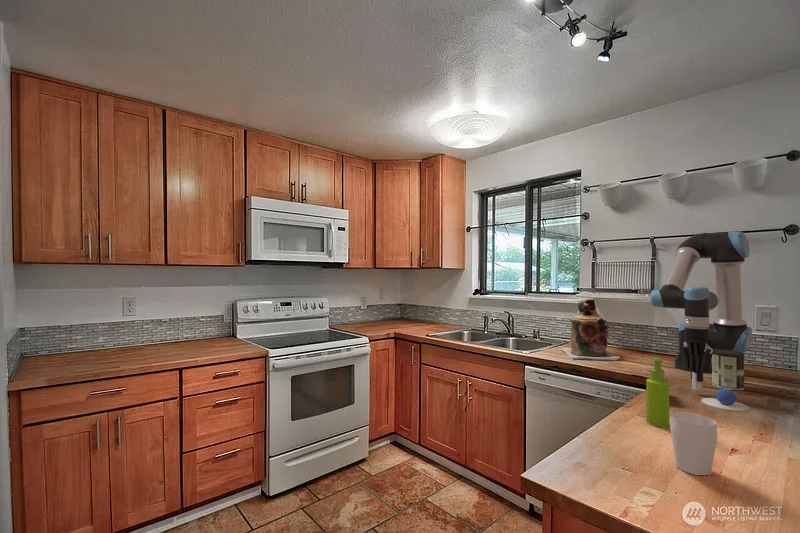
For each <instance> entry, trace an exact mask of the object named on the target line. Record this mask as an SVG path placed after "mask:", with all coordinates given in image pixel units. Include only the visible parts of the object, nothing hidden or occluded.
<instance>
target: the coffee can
mask: <svg viewBox="0 0 800 533" xmlns="http://www.w3.org/2000/svg"><path fill="white" fill-rule="evenodd" d="M711 361H712V372H711V374H712V376H711V378H712V379H711V380H712V381H711V384H712V386H713V387H716V388H719V389H729V390H731V391H744V390H745V352H744V353H742V352H737V351H730V350H716V349H715V352H714V353H713V355H712V359H711Z"/></svg>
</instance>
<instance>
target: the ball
mask: <svg viewBox="0 0 800 533" xmlns="http://www.w3.org/2000/svg"><path fill="white" fill-rule="evenodd" d="M715 393H716V394H715V398H717V400H718V401H719V402H720V403H722V404H724V405H732V404H734V403H735V402H737V396H736V394H735V392H734V391H733V390H729V389H723V388H719V389H717V391H716V392H715Z"/></svg>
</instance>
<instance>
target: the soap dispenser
mask: <svg viewBox="0 0 800 533" xmlns="http://www.w3.org/2000/svg"><path fill="white" fill-rule="evenodd" d="M650 359H651V360H653V361H654V362H653V365H654V366H653V367H652V368H651V369H650V378H647V379H646V380H645V381H646V383H645V384H646V396H645V397H646V398H645V399H646V403H645V404H646V408H645V410H646V423H647V424H648V423H649V424H648V425H650V424H651V425H650V426H652V425H654V426H653V427H656V426H658V427H657V428H662V427H666V428H670V382H669V381H668V382H667V381H665V380H664V377H665V369H663V368H662V363H663V359H662V358H660V357H656V356H655V357H653V356H651V357H650Z"/></svg>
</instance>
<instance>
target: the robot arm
mask: <svg viewBox="0 0 800 533" xmlns="http://www.w3.org/2000/svg"><path fill="white" fill-rule="evenodd" d="M750 253H751V252H750V245H749V240H748V238H747V236H746V233H744V232H742V231H732V230H730V231H719V232H700V233H696V234H695V235H692V236H690V237H688V238H687V239H685V240H684V241H683V242H681V244H679V246H678V247H677V248H676V250H675V252H674V257H675V258H674V260H673V262H672V265H671V266H670V269H669V271H668V273H667V275H666V277H665V279H664V282H663V284H662V286H661V288H660V289H659V288H658V289H653V290H652V291H651V293H650V297H649V298H650V302H651V305H652V306H653V307H656V308H664V309H683V310H684V320H683V321H680V322H679V323H678V352H677V355H676V357H675V359H674V367H675V369H679V370H683V371H687V372H690V380H691V389H692V390H693V391H702V390H703V387H702V386H703V385H702V384H703V382H704V374H706V373H712V355H713V353H714V352H715V350H730V351H737V352H742V353H744V354H745V353H746V352H748V350H749V348H750V345H751V343H752V342H751V341H752V337H753V328H752V327H750V326H748V324H747V321H746V320H745V319H743V313H742V312H743V310H742V307H743V306H742V281H741V280H742V279H741V277H742V276H741V266H742V264H744V263H745V260H746V258H749V256H750ZM700 259H710V263H711V264H712V265H714V266H715V268H714V269H715V289H716V291H715V292H716V293H715V292H714V291H713V292H712V291H710V289H709V288H708V287H707V286H686V283H687V281H688V279H689V277H690V275H691V272H692V270H693V268H694V266H695V264H696V263H698V262H699V261H700ZM685 286H686V287H685ZM715 308H716V312H717V313H716V316H717V317H716V318H715V319H713V323H710V311H711V310H713V309H715Z"/></svg>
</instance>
